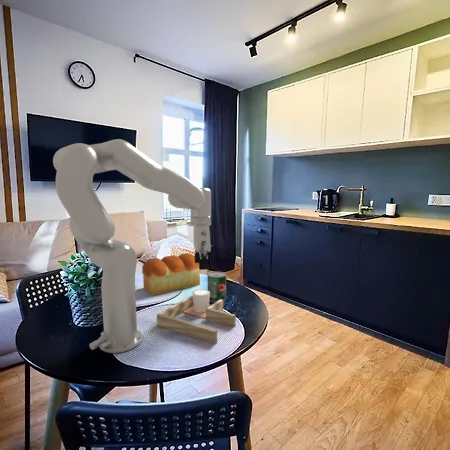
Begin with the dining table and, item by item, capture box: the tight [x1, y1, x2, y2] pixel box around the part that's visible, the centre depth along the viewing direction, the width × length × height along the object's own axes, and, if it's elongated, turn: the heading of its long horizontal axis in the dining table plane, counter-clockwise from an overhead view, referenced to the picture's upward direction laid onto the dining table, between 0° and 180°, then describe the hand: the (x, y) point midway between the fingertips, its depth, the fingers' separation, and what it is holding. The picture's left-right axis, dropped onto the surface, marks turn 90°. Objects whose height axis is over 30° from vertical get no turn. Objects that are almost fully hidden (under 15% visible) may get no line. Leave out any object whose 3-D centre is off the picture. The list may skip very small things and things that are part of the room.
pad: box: [183, 304, 212, 320], centre depth 110 cm, size 10×10×1 cm
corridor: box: [156, 294, 237, 345], centre depth 102 cm, size 23×24×4 cm
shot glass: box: [191, 288, 210, 313], centre depth 110 cm, size 7×7×7 cm
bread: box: [141, 252, 202, 296], centre depth 136 cm, size 25×12×15 cm, turn 126°
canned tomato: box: [207, 271, 227, 303], centre depth 121 cm, size 8×8×11 cm
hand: (201, 265), depth 108 cm, fingers open, 9 cm apart
